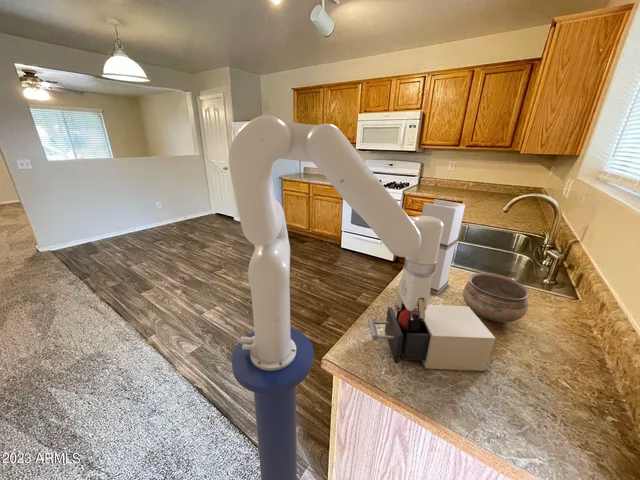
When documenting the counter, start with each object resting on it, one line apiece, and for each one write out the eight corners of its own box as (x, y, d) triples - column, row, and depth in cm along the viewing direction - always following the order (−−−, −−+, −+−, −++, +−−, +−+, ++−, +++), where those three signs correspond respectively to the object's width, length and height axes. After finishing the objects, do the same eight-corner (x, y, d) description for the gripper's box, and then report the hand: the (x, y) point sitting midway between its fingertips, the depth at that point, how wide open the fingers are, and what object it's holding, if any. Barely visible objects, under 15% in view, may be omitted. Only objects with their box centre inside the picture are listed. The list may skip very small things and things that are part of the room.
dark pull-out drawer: (371, 361, 71) (375, 334, 68) (365, 330, 82) (368, 306, 79) (449, 364, 70) (456, 338, 67) (431, 332, 82) (436, 308, 79)
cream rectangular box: (425, 368, 70) (432, 335, 66) (410, 333, 83) (415, 304, 79) (485, 371, 70) (495, 338, 66) (460, 335, 83) (468, 306, 79)
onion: (403, 321, 78) (407, 298, 76) (422, 331, 75) (426, 307, 72) (393, 330, 75) (396, 306, 72) (412, 341, 71) (416, 316, 68)
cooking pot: (514, 347, 78) (527, 313, 74) (448, 318, 90) (456, 287, 86) (526, 311, 96) (537, 282, 91) (470, 291, 108) (477, 264, 103)
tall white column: (447, 285, 112) (465, 204, 99) (437, 294, 105) (455, 208, 92) (421, 275, 119) (435, 199, 107) (410, 284, 112) (423, 203, 100)
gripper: (396, 251, 75) (388, 304, 82) (415, 281, 59) (403, 345, 66) (422, 252, 75) (413, 305, 82) (448, 282, 59) (434, 346, 65)
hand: (409, 322), depth 73 cm, fingers closed on onion, 5 cm apart
